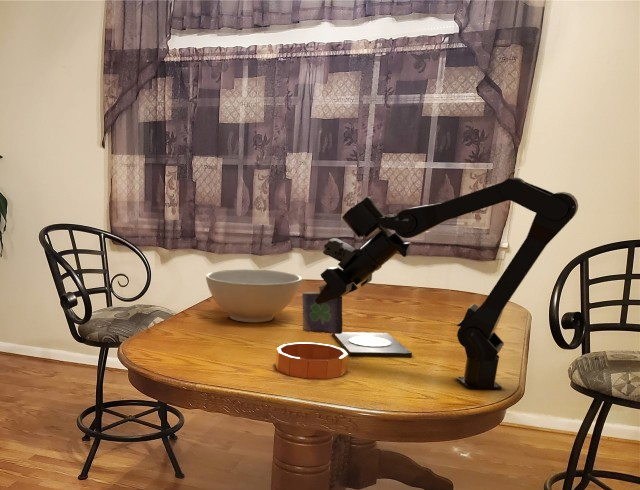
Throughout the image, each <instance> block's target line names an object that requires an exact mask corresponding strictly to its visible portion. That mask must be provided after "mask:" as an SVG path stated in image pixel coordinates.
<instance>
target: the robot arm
mask: <svg viewBox="0 0 640 490" xmlns="http://www.w3.org/2000/svg"><path fill="white" fill-rule="evenodd" d="M508 201H511V202H513V203H515V204H517V205H519V206H521V207H523V208H525V209H526V210H528V211H531V212H533V213H535V215H534V217H533V220H532V222H531V224H530V227H529V230H528V233H527V235H526V237H525V239H524V240H523V242H522V244H521V245H520V247H519V248H518V250H517V251H516V252H515V254H514V256H513V258H512V259H511V260H510V262H509V264H508V265H507V267H506V268H505V270H504V271H503V272H502V274H501V276H500V277H499V279H498V280H497V282H496V284H495V285H494V286H493V288H492V289H491V291H490V292H489V294H488V295H487V297H486V299H485V300H484V301H483V302H482V303H481V304H480V305H479V306H478V305H477V304H476V303H472V304H471V305H470V306H469V307H468V308H467V310H466V312H465V315H464V317H463V318H462V320H461V321H459V323H457V324H456V327H459V328H458V330H457V332H456V337H457V341H458V343H459V344H460V345H461V346H462V347H463V348H464V350H465V354H466V355H465V356H466V362H465V367H464V374H463V376H457V377H456V380H457V381H458V382H460V383H461V385H463V386H465V387H466V388H467V389H474V390H475V389H479V390H481V389H483V390H502V388H503V386H502V385H500V384H499V383H498V382H496V379H497V374H498V373H497V372H498V367H499V361H500V355H498V354H499V353H500V351H501V350H502V349H503V347H504V346H505V342H504V341H503V340H502V339H501V337H499V335H498V334H497V333H496V332H495V331H496V329H497V327H498V324H499V323H500V320H501V317H502V314H503V312H504V310H505V307H506V306H507V305H508V303H509V302H510V301H511V298H512V297H513V296H514V295H515V293H516V291H517V290H518V288H519V287H520V285H521V284H522V283H523V281H524V279H525V278H526V276H527V275H528V274H529V272H530V270H531V269H532V268H533V266H534V265H535V263H536V262H537V260H538V258H539V257H540V256H541V254H542V253H543V251H544V250H545V249H546V247H547V245H548V244H549V243H551V241H552V240H553V239H554V238H555V237H556V236H557V235H558V234H559V233H560V232H561V231H562V230H563V229H564V228H565V227H566V226H567V224H568V223H570V221H572V219H573V218H574V217H575V216H576V215H577V213H578V209H579V203H578V199H577V198H576V197H575V195H573V194H572V193H569V192H566V191H558V192H552V191H550V190H547V189H545V188H543V187H540V186H537V185H534V184H532V183H529V182H527V181H525V180H524V179H522V178H521V177H516V176H515V177H510V178H506V179H504V180H503V181H502V182H499V183H495V184H493V185H490V186H487V187H484V188H481V189H478V190H475V191H473V192H470V193H466V194H464V195H463V194H462V195H460V196H458V197H454V198H451V199H449V200H445V201H442V202H439V203H432V204H426V205H421V206H415V207H410V208H406V209H402V210H400V211H399V212H398V213H397V214H393V213H390V214H386V215H385V214H384V212H382V210H381V209H380V208H379V207H378V205H377V204H376V203H375V201H374V200H373V198H372V197H371V196H366V197H365V198H364V199H362V200H361V201H360V202H358V203H357V204H356V205H354V206H352V207H350V208H349V209H347V211H346V212H345V213H344V214H343V215H342V216H341V219H342V220H343V221H344V222H345V224H346V225H347V226H348V227H349V228H350V229H351V231H352V232H353V233H354V234H355V235H356V236H357V238H358V239H361V238H365V239H366V240H367V239H369V238H370V239H369V240H368V241H367V242H366V243H365V244H363V245H362V246H360V247H359V248H355V247H353V246H351V245H350V244H348V243H347V242H345V241H343V240H341V239H339V238H335V237H334V238H329V240H328V241H327V243H325V244H324V245H323V248H324V249H323V250H322V253H323V255H325V256H329V257H331V258H332V259H334V260H335V261H338V263H337V265H338V266H331V267H328V268H326V269H325V270H324V271H323V272H321V273H320V277H321V278H322V280H323V281H324V282H325V284H326V285H325V287H324V288H323V290H322V291H321V292H320V291H319V292H320V294H319V295H318V297H317V298H316V300H315V302H316V303H317V304H320V303H323V302H326V301H329V300H332V299H335V298H338V297H341V296H342V297H344V296H346V295H348V294H350V293H352V292H354V291H357V290H358V289H359V287H358V285H360V287H361V288H364V287H365V286H367V285H369V283H370V282H371V281H372V280H373V274H374V273H375V272H377V271H379V270H380V269H381V268H382V266H383V265H385V264H386V263H387V262H388V261H389V260H390V259H392V258H393V257H394V256H395V255H397V254H398V253H399V254H400V255H401V256H402V257H403V258H406V257H408V256H411V246H412V245H413V244H412V242H406V241H404V239H411V238H414V237H417V236H420V235H423V234H424V233H426V232H428V231H431V230H432V229H434V228H436V227H438V226H440V225H441V224H443V223H446V222H448V221H450V220H452V219H455V218H458V217H461V216H464V215H468V214H470V213H473V212H474V213H475V212H477V211H479V210H483V209H485V208H489V207H492V206H495V205H498V204H501V203H505V202H508ZM379 230H380V231H379ZM391 231H394V233H392V232H391ZM376 232H377V233H376ZM373 235H374V236H373ZM372 236H373V237H372ZM371 237H372V238H371Z"/></svg>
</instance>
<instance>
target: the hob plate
mask: <svg viewBox="0 0 640 490" xmlns="http://www.w3.org/2000/svg"><path fill="white" fill-rule="evenodd" d="M331 336H332V337H333V339H334V340H335V341H336V342H337V344H339V345H340V347H341V348H342V349H344V350H345V351H346V352H347V354H348V357H372V358H373V357H376V358H377V357H379V358H412V357H413V352H411V351H410V350H409V348H407V347H405V346H404V345H403V344H402V343H401V342H399V341H398V340H397V339H395V338H394V337H393V336H392V335H391V334H390V333H389V332H366V331H365V332H362V331H360V332H359V331H358V332H357V331H342V333H341V334H331Z"/></svg>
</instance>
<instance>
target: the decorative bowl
mask: <svg viewBox="0 0 640 490" xmlns="http://www.w3.org/2000/svg"><path fill="white" fill-rule="evenodd" d="M205 279H206V280H205V281H206V284H207V287H208V290H209V292H210V294H211V297H212V299H213V300H214V301H215V303H216V304H217V305H218V306H219V308H221V309H222V310H223V311H224V312H226V313H227V314H228V315H229V318H230V319H231V320H233V321H237V322H242V323H243V322H244V323H265V322H270V321H272V320H273V319H274V316H275V315H277V314H279V313H280V312H282V311H283V310H284V309H286V308H287V307H288V306H289V304H290V303H292V301H293V299H294V298H295V296H296V294H297V293H298V292H299V289H300V286H301V284H302V281H303V280H302V277H301V276H300V275H298V274H295V273H292V272H288V271H281V270H280V271H279V270H273V269H272V270H271V269H256V268H255V269H254V268H253V269H252V268H251V269H250V268H248V269H246V268H243V269H241V268H239V269H222V270H215V271H212V272H209V273H207V274H206V275H205Z"/></svg>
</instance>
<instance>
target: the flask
mask: <svg viewBox="0 0 640 490" xmlns="http://www.w3.org/2000/svg"><path fill="white" fill-rule="evenodd" d="M325 285H326V283H325V284H321V285H318V286H317V287H318V289H319V290H318V291H304V292H302V295H301V298H302V332H307V333H316V334H331V335H332V334H341V333H342V332H343V296H341V297H338V298H335V299H332V300H329V301H326V302H323V303H320V304H317V303H316V302H315V300H316V298H317V297H318V295H319V294H320V292H321V291H322V290H323V288H324V287H325Z"/></svg>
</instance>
